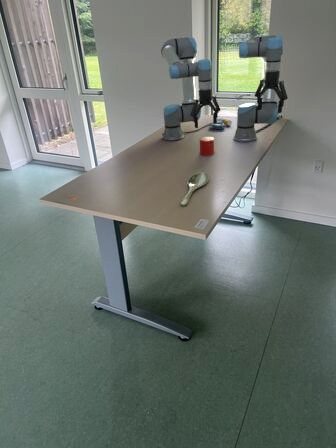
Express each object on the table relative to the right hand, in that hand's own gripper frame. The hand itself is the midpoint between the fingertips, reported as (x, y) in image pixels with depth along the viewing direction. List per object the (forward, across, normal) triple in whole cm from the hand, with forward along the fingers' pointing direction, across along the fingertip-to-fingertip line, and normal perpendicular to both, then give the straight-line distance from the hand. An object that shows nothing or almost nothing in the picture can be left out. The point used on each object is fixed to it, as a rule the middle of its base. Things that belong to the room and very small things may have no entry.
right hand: (269, 111), depth 190 cm
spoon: (+26, +2, -62) cm, 68 cm away
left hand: (+8, -31, -20) cm, 38 cm away
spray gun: (+26, -66, +31) cm, 77 cm away
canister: (+26, -31, -20) cm, 45 cm away
